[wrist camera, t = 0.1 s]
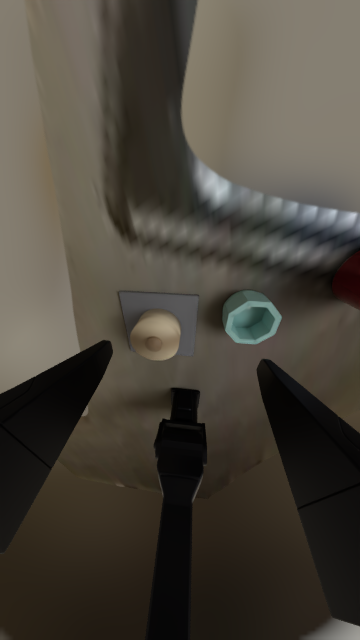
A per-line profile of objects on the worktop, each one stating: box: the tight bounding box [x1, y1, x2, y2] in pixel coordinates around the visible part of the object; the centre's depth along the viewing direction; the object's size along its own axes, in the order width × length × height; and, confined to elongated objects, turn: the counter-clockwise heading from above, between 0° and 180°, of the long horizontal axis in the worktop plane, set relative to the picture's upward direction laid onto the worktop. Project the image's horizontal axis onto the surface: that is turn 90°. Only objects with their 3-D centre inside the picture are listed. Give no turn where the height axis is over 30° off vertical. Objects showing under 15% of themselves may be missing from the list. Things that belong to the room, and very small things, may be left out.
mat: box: [119, 291, 199, 356], centre depth 26 cm, size 12×12×1 cm
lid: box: [130, 309, 181, 361], centre depth 23 cm, size 7×7×5 cm
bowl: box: [222, 290, 282, 344], centre depth 21 cm, size 6×6×4 cm
